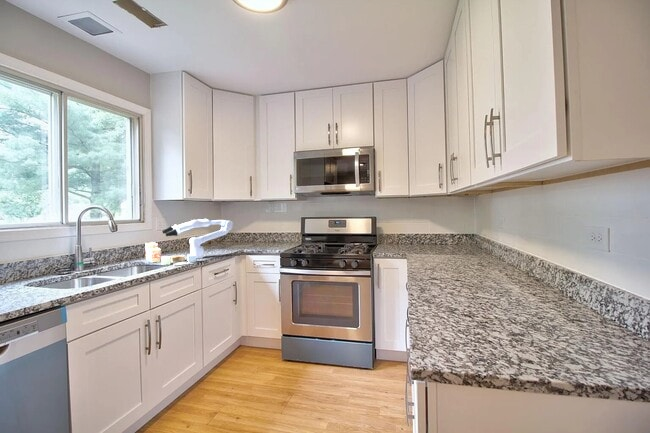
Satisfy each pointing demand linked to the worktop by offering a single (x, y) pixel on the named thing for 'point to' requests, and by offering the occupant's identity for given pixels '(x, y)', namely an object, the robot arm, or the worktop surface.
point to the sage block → (166, 260)
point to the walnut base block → (177, 258)
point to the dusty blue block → (191, 258)
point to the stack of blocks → (153, 252)
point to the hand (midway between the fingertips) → (164, 233)
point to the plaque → (181, 264)
